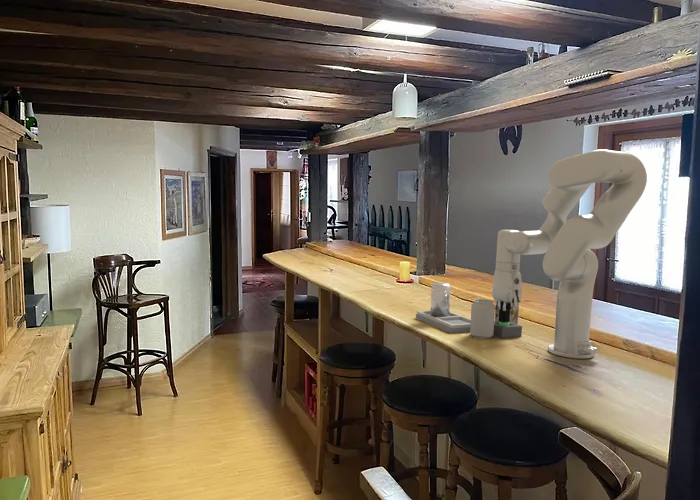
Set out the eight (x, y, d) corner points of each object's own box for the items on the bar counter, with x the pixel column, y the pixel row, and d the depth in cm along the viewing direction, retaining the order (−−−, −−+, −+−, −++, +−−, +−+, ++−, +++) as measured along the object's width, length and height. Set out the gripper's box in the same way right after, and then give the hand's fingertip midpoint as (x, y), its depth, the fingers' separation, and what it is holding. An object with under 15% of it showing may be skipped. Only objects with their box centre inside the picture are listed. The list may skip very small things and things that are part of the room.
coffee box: (511, 327, 188) (514, 282, 187) (493, 325, 191) (496, 280, 190) (518, 323, 196) (521, 279, 194) (500, 320, 199) (503, 277, 198)
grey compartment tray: (482, 330, 183) (483, 323, 183) (450, 333, 178) (451, 325, 177) (445, 316, 204) (445, 309, 204) (415, 318, 199) (416, 311, 198)
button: (511, 331, 177) (511, 322, 177) (503, 332, 176) (503, 323, 176) (504, 329, 180) (505, 320, 180) (496, 329, 179) (496, 321, 179)
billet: (452, 317, 194) (454, 285, 193) (436, 318, 191) (438, 285, 190) (442, 313, 200) (444, 282, 199) (426, 314, 197) (428, 282, 196)
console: (521, 336, 176) (522, 326, 176) (501, 338, 173) (502, 327, 173) (505, 330, 184) (505, 320, 183) (486, 332, 180) (486, 322, 180)
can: (491, 334, 178) (493, 298, 177) (495, 340, 171) (497, 303, 170) (468, 333, 179) (470, 297, 178) (471, 338, 171) (473, 301, 170)
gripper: (532, 270, 171) (528, 326, 173) (501, 264, 185) (498, 316, 186) (513, 270, 168) (509, 328, 170) (484, 264, 182) (480, 317, 183)
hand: (503, 321), depth 178 cm, fingers closed
